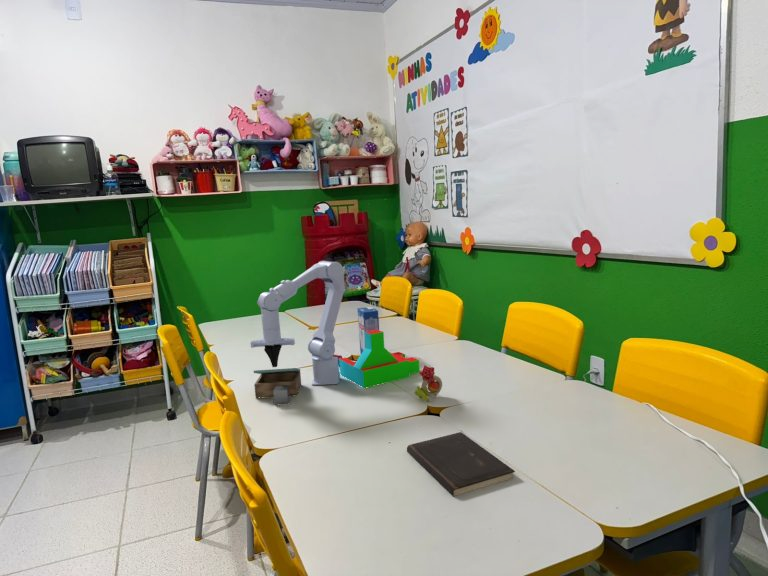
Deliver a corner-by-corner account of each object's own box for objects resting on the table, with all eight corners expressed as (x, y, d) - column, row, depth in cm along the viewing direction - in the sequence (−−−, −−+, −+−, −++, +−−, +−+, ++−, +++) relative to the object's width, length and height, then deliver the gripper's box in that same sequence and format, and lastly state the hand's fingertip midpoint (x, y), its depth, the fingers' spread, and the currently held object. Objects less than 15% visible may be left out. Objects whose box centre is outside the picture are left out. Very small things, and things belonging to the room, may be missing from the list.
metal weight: (290, 399, 171) (289, 385, 170) (288, 404, 167) (287, 389, 166) (277, 400, 171) (275, 385, 170) (274, 405, 166) (273, 390, 166)
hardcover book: (461, 439, 136) (461, 431, 135) (515, 480, 115) (514, 470, 114) (406, 453, 130) (406, 445, 129) (452, 499, 109) (452, 489, 108)
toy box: (301, 384, 185) (300, 371, 184) (296, 395, 174) (295, 381, 173) (262, 387, 184) (261, 373, 184) (255, 398, 174) (254, 384, 173)
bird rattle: (429, 400, 169) (407, 395, 164) (439, 367, 169) (418, 362, 165) (440, 406, 163) (417, 401, 159) (450, 372, 164) (428, 366, 159)
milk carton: (360, 353, 219) (357, 308, 216) (374, 351, 221) (371, 306, 218) (366, 360, 210) (363, 312, 207) (381, 357, 212) (378, 310, 209)
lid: (300, 371, 184) (300, 369, 184) (295, 370, 173) (294, 368, 173) (261, 373, 184) (261, 371, 184) (253, 373, 173) (253, 370, 173)
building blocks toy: (423, 374, 189) (420, 326, 187) (364, 389, 177) (360, 338, 174) (396, 362, 205) (393, 318, 203) (340, 375, 193) (336, 328, 190)
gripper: (246, 331, 168) (251, 371, 170) (291, 329, 169) (294, 368, 171) (251, 326, 175) (255, 364, 177) (294, 324, 176) (297, 362, 178)
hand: (275, 366), depth 175 cm, fingers closed
